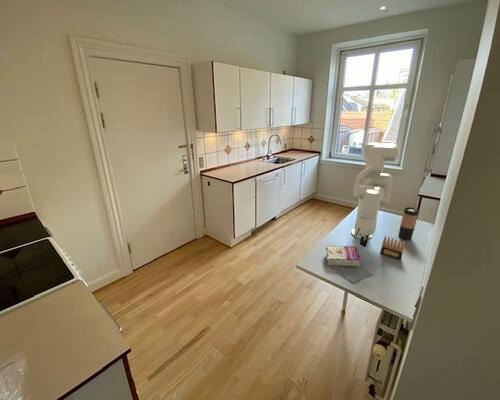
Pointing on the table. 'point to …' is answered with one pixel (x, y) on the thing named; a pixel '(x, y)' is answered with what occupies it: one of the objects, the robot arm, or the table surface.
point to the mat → (351, 272)
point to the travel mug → (408, 223)
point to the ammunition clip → (392, 249)
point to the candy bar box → (342, 255)
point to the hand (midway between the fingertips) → (362, 245)
